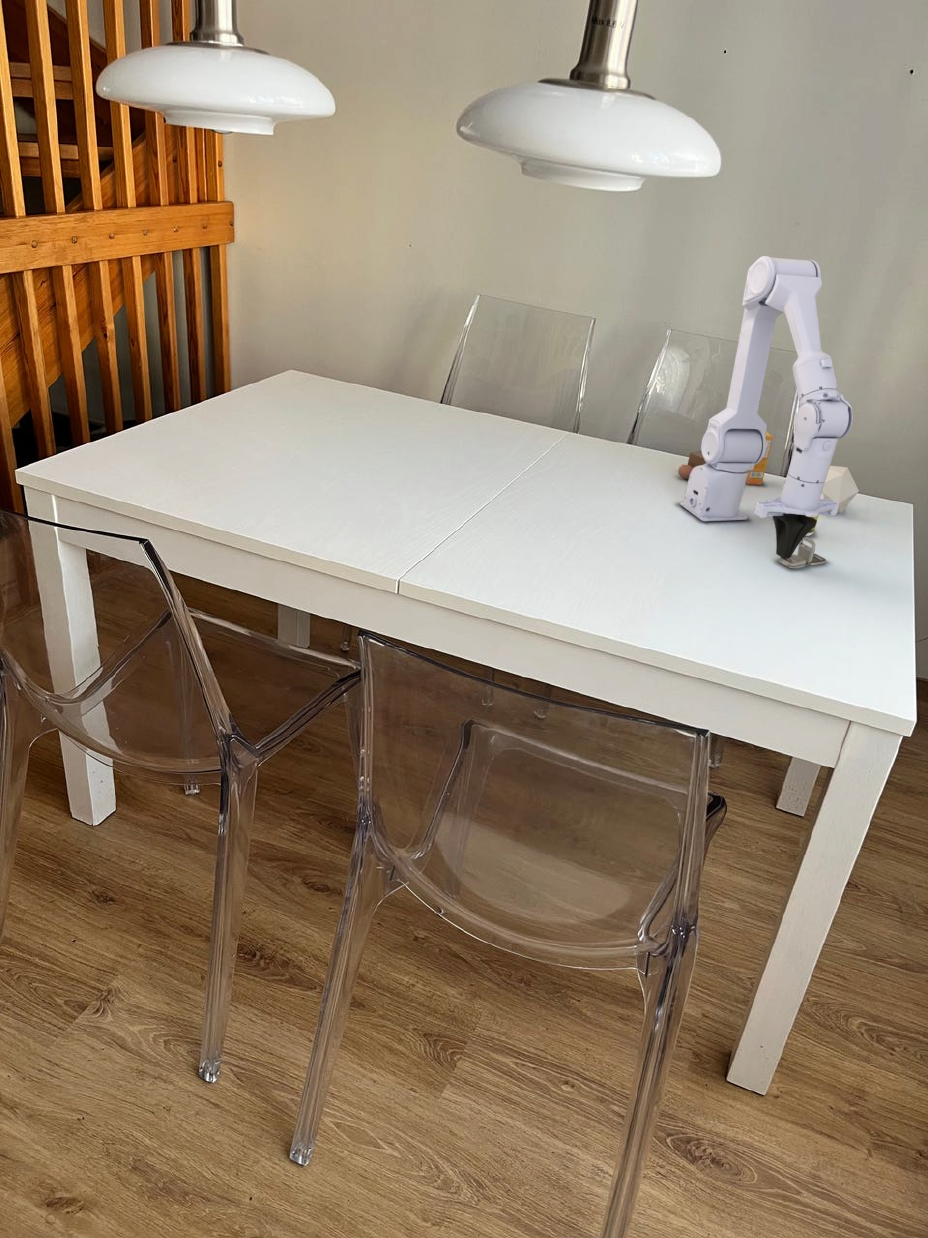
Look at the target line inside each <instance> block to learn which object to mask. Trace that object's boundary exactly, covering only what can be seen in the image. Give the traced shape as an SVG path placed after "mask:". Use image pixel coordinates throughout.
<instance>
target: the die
mask: <svg viewBox="0 0 928 1238" xmlns="http://www.w3.org/2000/svg"><path fill="white" fill-rule="evenodd" d="M859 492H860V490H859V489H858V486H857V484H856V482H855V480H854V478H853V476H852V474H851V472H850V470H849V468H848V467H847V466H840V465H839V466H837V465H830V467H829V470H828V474H827V477H826V480H825V483H824V487H823V490H822V493H823V495H824V498H823V499H825V500H833V501H835V502H837V503H838V504H839V508H838V511H837V514H842V512H843V511H844V510H845V509H846V507H847V506H848V505H849V504H850V503H851V501H852V500H853V499H854V498H855V497H856V496H857V494H858V493H859Z"/></svg>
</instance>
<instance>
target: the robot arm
mask: <svg viewBox="0 0 928 1238" xmlns="http://www.w3.org/2000/svg"><path fill="white" fill-rule="evenodd" d="M822 288H823V281H822V271H821V267H820V265H819V263H818V262H817V261H816V260H814V259H796V258H795V259H794V258H782V257H771V256H768V255H763V256H760V257H759V258H758V259H756V260H755V262H754V263H752V264H751V266H750V267H748V269H747V275H746V281H745V285H744V290H743V297H742V303H741V305H742V307H743V308H744V309H743V314H742V322H741V326H740V330H739V337H738V342H737V347H736V353H735V358H734V364H733V368H732V376H731V380H730V384H729V385H730V386H729V391H728V396H727V402H726V406H725V408H724V409H723V410H722V411H720V412H718V413H716V414H715V415H713V416H712V417H711V418H709V420H708V425H707V428H706V431H705V433H704V434H703V436H702V440H701V446H700V451H702V455H703V457H704V459H705V462H707V463H706V464H704V465H701V466H696V467H695V468H694V469H693V470H692V471H691V473H690V476H689V479H688V480H687V484H686V489H685V493H684V494H685V495H684V497H683V501H681V502H680V506H682V507H683V508H684V509H686V510H687V511H689V512H690V513H691V514H692V515H693V516H695V517H696V518H697V519H699V520H700V521H702V522H724V521H747V520H748V516H747V515H746V514H744V513H742V512H741V511H740V506H741V502H742V499H743V495H744V491H745V488H746V487H745V486H746V485H747V484H746V480H747V476H748V472H749V470H753V468H754V465H755V464H758V463H759V462H760V461H761V460H762V458H763V456H764V454H765V451H766V432H767V427H768V426H767V425H768V424H767V423H766V422H765V420H763V418H762V417H761V416H760V415H759V413H758V412H759V406H760V401H761V395H762V390H763V386H764V382H765V375H766V371H767V365H768V361H769V355H770V351H771V346H772V340H773V335H774V330H775V326H776V320H777V319H778V318H779V317H780V316H781V315H782V314H785V317H786V321H787V324H788V328H789V331H790V334H791V338H792V341H793V345H794V348H795V352H796V354H797V359H796V360H795V362H794V363H793V365H792V374H793V379H794V384H795V388H796V393H797V399H798V404H799V409H798V411H797V412H795V414H794V421H793V423H794V424H793V425H794V436H793V445H794V450H793V452H792V456H791V460H790V463H789V467H788V469H787V474H786V477H785V480H784V485H783V488H782V491H781V494H780V496H779V497H778V496H777V497H775V498H771V499H767V500H763V501H756V503H755V506H754V510H753V514H754V515H756V516H757V517H759V518H760V519H765V518H767V517H772V521H773V524H774V529H775V539H776V541H775V542H776V543H775V544H776V546H775V547H776V549H775V554H776V555H777V556H778V557H779V558H783V559H788V558H790V557H791V556H792V555H793V554H794V553H795V551H796V549H798V547H799V543H800V542H801V540H802V539H803V538H804V537H807V536H806V534H807V533H808V532H809V531H811V530H812V529H813V528H814V527H815V528H816V526H817V523H818V519H817V520H816V519H814V518H813V517H817V516H818V514H819V515H829V516H837V514H838V513H837V511H838V508H839V504H838V503H837V502H835V501H833V500H825V499H820V497H821V493H822V490H823V487H824V483H825V480H826V477H827V474H828V470H829V467H830V466H831V465H832V462H833V461H832V460H833V457H834V454H835V451H836V447H837V444H838V441H839V439H843V438H845V437H846V436H847V435H848V434H849V432H850V431H851V428H852V425H853V420H854V417H853V407H852V405H851V403H850V402H849V401H847V400H846V399H845V397H844V395H843V393H840V391H839V387H838V383H837V378H836V373H835V369H834V363H833V358H832V356H831V355H829V354H828V353H826V352H824V351H823V349H822V342H821V332H820V324H819V315H818V306H817V299H818V297H819V295H820V293H821V290H822ZM818 517H819V516H818Z"/></svg>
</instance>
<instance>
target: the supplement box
mask: <svg viewBox="0 0 928 1238" xmlns="http://www.w3.org/2000/svg"><path fill="white" fill-rule="evenodd" d="M773 437H774V436H773V435H771V434H770V433H769V431H766V451H765V454H764V456H763V458H762V460H761V461H760V462H759V463H758V464H755V465H754V468H753V470H749V472H748V476H747V480H746V484H745V485H750V486H751V485H752V486H762V484H763V481H764V477H765V472H766V468H767V464H768V459H769V456H770V452H771V446H772V442H773Z"/></svg>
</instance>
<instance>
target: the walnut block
mask: <svg viewBox="0 0 928 1238" xmlns="http://www.w3.org/2000/svg"><path fill="white" fill-rule="evenodd" d="M706 463H707V462H705V459H704V457H703V455H702V451H701V450H697V451H692V452H689V456H688V460H687V465H690V466H692V467H693V468H695V467H696V466H701V465H704V464H706Z"/></svg>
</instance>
